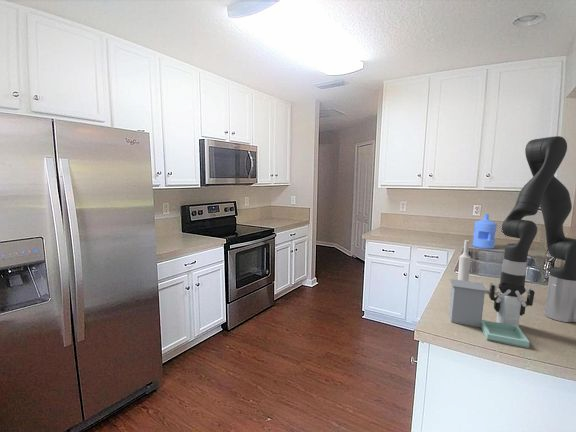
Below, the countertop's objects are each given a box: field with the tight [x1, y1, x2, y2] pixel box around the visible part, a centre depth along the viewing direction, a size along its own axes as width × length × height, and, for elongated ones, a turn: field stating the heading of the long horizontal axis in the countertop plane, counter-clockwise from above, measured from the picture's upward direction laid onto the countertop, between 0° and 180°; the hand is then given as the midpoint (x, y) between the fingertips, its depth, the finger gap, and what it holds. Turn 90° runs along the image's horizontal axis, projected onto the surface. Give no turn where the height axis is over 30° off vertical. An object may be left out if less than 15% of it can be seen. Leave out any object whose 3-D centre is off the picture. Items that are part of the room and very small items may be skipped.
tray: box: [480, 319, 531, 349], centre depth 109 cm, size 12×12×2 cm
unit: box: [448, 278, 488, 328], centre depth 120 cm, size 11×9×15 cm
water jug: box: [472, 213, 498, 250], centre depth 255 cm, size 16×16×28 cm
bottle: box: [457, 239, 472, 281], centre depth 156 cm, size 5×5×25 cm
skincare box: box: [495, 292, 521, 328], centre depth 117 cm, size 6×4×12 cm
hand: (508, 312), depth 117 cm, fingers closed on skincare box, 7 cm apart
